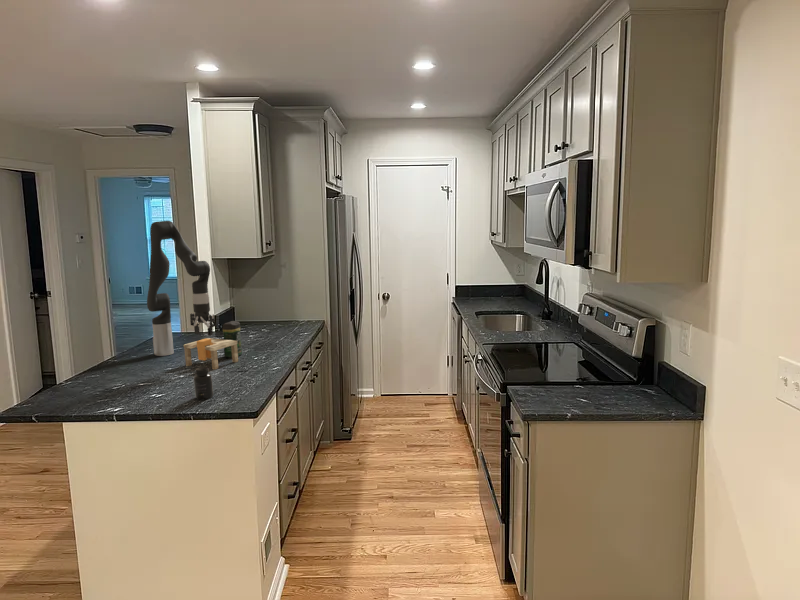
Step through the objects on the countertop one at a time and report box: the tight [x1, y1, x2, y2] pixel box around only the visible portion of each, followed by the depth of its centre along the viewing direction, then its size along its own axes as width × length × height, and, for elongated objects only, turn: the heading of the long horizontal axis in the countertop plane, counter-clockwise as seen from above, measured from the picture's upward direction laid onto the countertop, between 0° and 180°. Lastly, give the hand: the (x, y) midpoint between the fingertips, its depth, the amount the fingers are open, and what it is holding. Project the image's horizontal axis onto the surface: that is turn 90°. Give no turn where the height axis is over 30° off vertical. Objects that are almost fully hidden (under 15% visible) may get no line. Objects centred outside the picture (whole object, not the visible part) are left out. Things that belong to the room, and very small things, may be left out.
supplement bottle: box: [193, 366, 214, 400], centre depth 215 cm, size 7×7×12 cm
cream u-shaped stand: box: [183, 337, 239, 370], centre depth 268 cm, size 20×16×11 cm
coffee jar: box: [222, 320, 243, 359], centre depth 282 cm, size 10×8×19 cm
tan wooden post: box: [196, 338, 212, 361], centre depth 264 cm, size 4×6×10 cm
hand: (203, 334), depth 263 cm, fingers open, 8 cm apart
